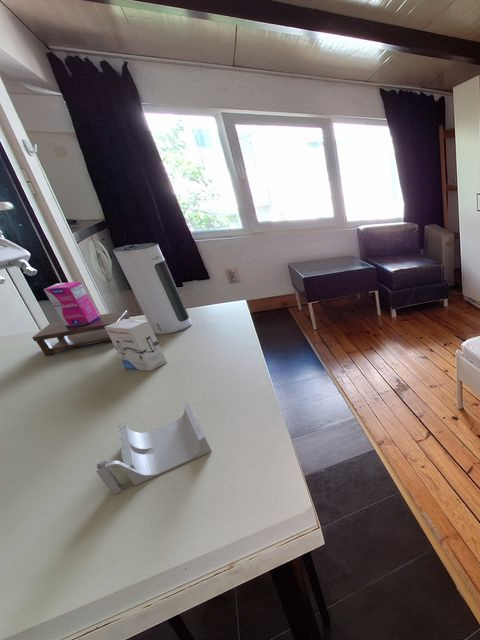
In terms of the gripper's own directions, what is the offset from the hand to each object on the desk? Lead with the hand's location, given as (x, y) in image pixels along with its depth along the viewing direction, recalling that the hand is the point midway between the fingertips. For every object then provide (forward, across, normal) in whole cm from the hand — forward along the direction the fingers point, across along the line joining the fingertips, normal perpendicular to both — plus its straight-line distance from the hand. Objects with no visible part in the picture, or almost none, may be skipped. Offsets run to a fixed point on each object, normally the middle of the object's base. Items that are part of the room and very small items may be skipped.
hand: (19, 277), depth 99 cm
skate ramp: (+56, -58, -26) cm, 84 cm away
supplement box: (+16, 0, +4) cm, 17 cm away
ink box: (+40, -21, -10) cm, 46 cm away
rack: (+21, 0, +8) cm, 22 cm away
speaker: (+34, +5, -6) cm, 35 cm away
